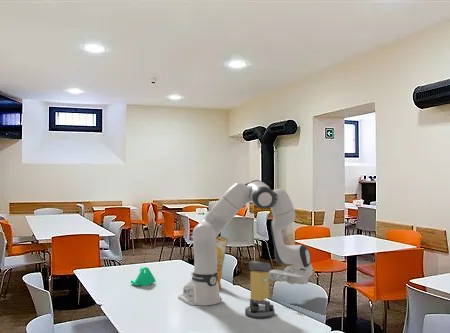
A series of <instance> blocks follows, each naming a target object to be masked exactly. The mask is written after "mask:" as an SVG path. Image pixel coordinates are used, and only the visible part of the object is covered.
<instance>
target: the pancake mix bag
mask: <svg viewBox="0 0 450 333" xmlns="http://www.w3.org/2000/svg"><path fill="white" fill-rule="evenodd" d="M227 245H228V239H227V238H226V237H223V236H219V235H218V236H217V237H216V254H217V272H218V280H217V282H218V285H219V290H221V289H222V286H221V285H222V283H221V279H222V276H223V275H222V274H223V267H224V261H225V257H226V250H227V247H228V246H227Z"/></svg>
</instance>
